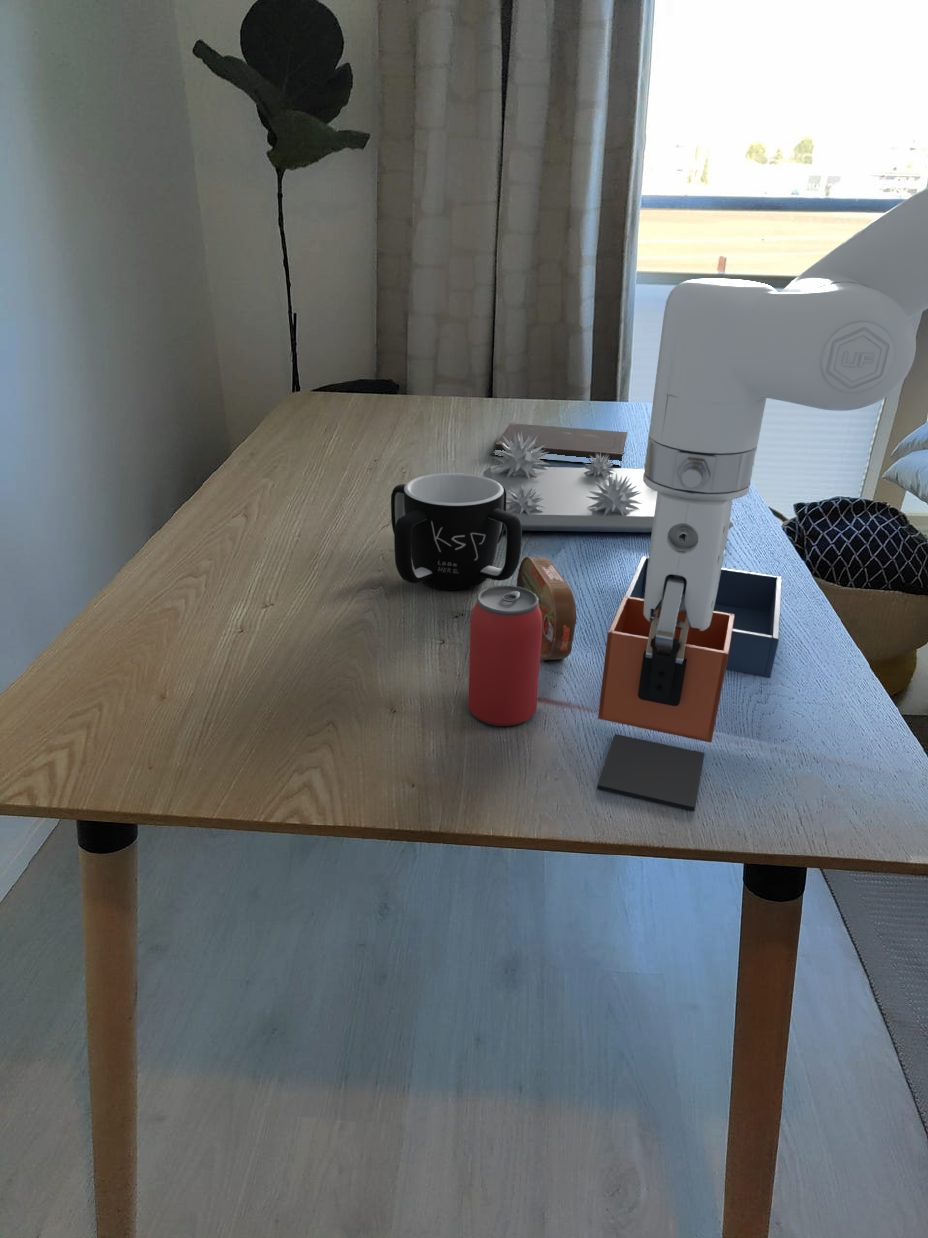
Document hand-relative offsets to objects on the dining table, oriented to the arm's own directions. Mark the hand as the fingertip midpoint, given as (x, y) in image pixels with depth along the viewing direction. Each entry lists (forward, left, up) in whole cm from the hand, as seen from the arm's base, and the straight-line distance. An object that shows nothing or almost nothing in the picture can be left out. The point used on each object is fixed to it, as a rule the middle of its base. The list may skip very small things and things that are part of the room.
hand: (665, 675), depth 69 cm
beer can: (+15, -5, -10) cm, 18 cm away
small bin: (0, 0, -3) cm, 3 cm away
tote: (-1, -28, -10) cm, 29 cm away
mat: (0, 0, -10) cm, 10 cm away
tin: (+15, -20, -10) cm, 26 cm away
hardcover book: (+31, -93, -10) cm, 99 cm away
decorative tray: (+18, -65, -10) cm, 68 cm away
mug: (+30, -32, -10) cm, 45 cm away
